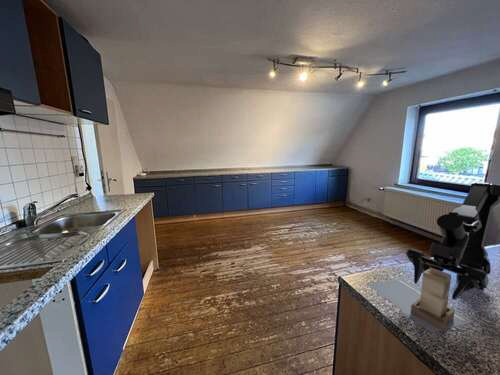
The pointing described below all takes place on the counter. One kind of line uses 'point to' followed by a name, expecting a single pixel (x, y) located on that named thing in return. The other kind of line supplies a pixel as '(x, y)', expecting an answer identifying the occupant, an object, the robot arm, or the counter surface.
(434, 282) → the beech column
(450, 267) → the robot arm
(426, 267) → the tape measure
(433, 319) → the walnut block
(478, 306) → the counter surface
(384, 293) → the board
